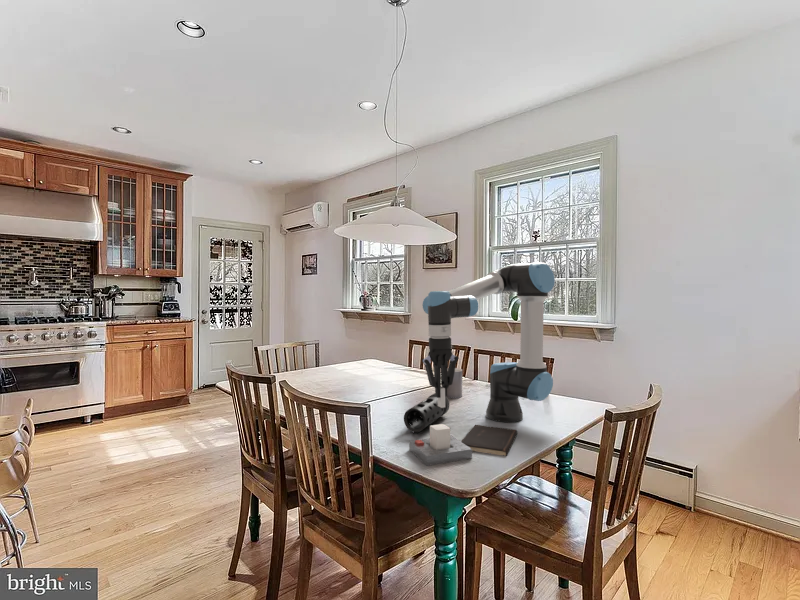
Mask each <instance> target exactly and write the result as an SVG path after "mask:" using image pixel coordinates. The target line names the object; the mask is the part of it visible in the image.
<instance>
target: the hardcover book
mask: <svg viewBox="0 0 800 600" xmlns="http://www.w3.org/2000/svg"><path fill="white" fill-rule="evenodd" d="M516 435H517V436H518V431H517V429H513V428H506V427H498V426H497V427H496V426H487V425H480V424H475V425H474V426H473V427H471V429H470V430H469V431H468V432H467V434H466V435H465V436H464V437H463V438H462V440H461V442H462V443H464V444H465V445H467V446H468V447H470V448H471V449H472V452H479V453H485V454H490V453H491V455H497V456H503V455H504V456H503V457H507V456H508V454H509V452H510V449H511V448H512V446H513V444H514V442H515V439H516V437H517V436H516Z"/></svg>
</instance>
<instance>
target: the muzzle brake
mask: <svg viewBox="0 0 800 600" xmlns="http://www.w3.org/2000/svg"><path fill="white" fill-rule="evenodd" d="M449 409H450V398H447V397H445V407H444V408H441V407H439V406H438V398H437V397H436V396H435V392H434V393H433V394H431V395H429V396H428V397H427V398H426V399H424V400H422V401H420V402H419V403H417V404H415V405H413V406H412V407H411V408H409V409H407V410H406V411H405V413H404V415H403V422H404V425H405V427H406V428H407V429H408V430H409V431H411V432H413V434H414V435H417V434H419V433H420V432H421V431H423V430H425V429H426V428H427V427H428V426H431V424H432V423H434V422H436V421H437V420H438V419H439V418H441V417H443V416H444V415H445V414H447V413H448V411H449Z"/></svg>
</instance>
